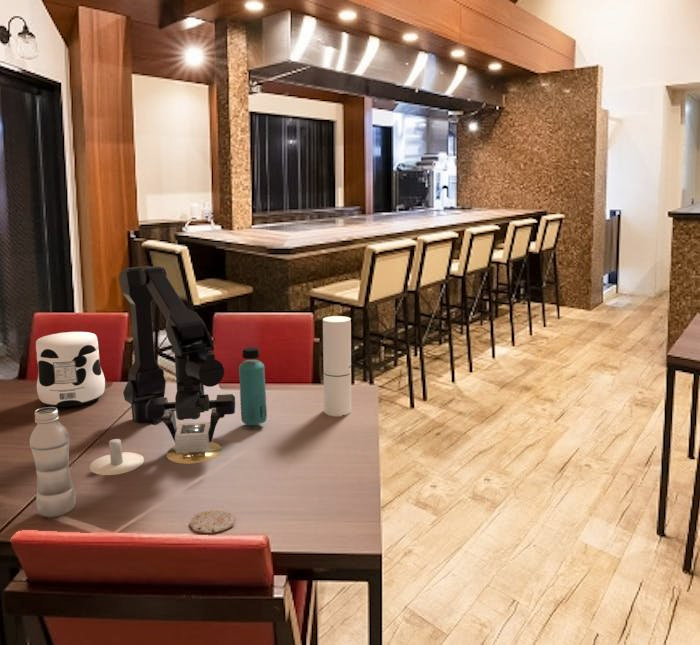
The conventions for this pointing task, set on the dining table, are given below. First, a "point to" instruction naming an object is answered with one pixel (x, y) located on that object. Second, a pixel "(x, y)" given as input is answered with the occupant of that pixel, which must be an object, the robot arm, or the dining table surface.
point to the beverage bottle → (252, 388)
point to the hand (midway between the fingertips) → (193, 442)
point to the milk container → (69, 369)
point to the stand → (116, 461)
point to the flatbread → (212, 521)
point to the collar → (192, 438)
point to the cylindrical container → (337, 365)
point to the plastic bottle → (52, 464)
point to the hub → (194, 456)
